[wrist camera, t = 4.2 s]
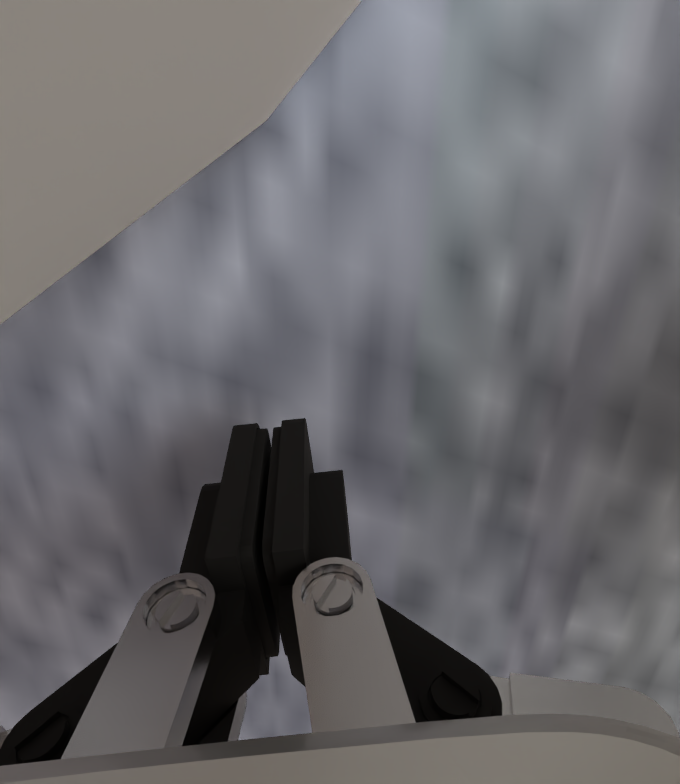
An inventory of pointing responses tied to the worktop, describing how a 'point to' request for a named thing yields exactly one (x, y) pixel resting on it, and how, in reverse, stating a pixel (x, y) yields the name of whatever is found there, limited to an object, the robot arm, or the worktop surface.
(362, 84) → the worktop surface
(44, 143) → the milk carton
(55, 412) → the worktop surface
